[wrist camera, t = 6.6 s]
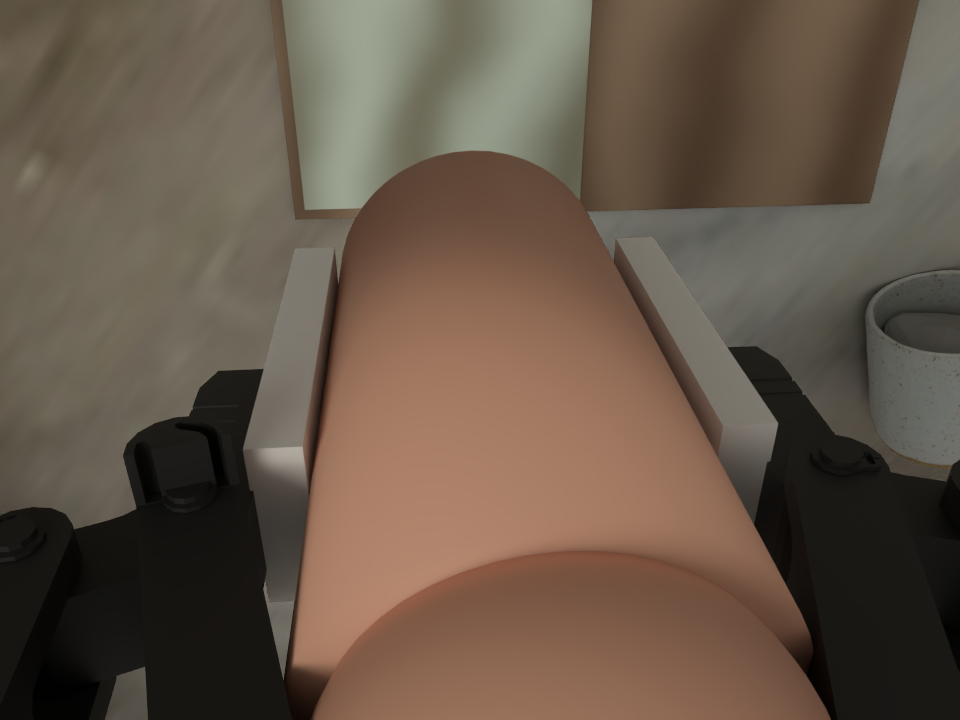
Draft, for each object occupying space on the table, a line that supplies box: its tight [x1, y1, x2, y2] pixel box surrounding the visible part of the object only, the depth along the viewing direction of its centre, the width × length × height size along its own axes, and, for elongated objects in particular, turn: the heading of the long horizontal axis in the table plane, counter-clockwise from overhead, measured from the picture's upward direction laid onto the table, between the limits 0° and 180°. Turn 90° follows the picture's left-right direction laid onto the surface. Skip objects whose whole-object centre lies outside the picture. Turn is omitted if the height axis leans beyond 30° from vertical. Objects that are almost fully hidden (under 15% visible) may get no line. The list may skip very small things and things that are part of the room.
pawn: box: [284, 150, 831, 720], centre depth 12 cm, size 6×6×15 cm
